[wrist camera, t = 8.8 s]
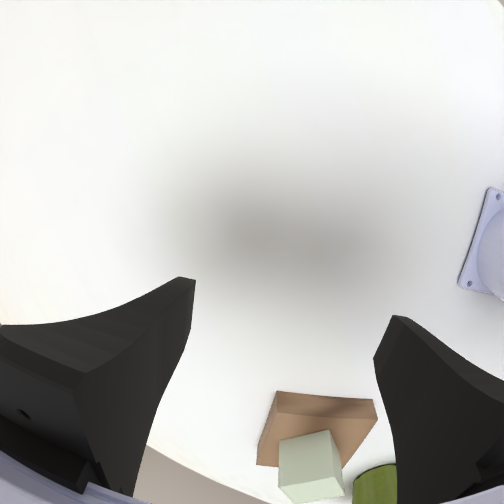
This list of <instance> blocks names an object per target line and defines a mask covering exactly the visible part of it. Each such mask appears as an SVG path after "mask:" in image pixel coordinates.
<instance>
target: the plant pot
mask: <svg viewBox="0 0 504 504" xmlns="http://www.w3.org/2000/svg"><path fill="white" fill-rule="evenodd" d="M352 504H397V471H396V466H394V465H385V466H381V467H378V468H375V469H372V470H369V471H367V472H365V473H364V474H362V475H361V477H360V478H358V479H356V480H355V481H354V484H353V500H352Z"/></svg>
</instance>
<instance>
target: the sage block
mask: <svg viewBox="0 0 504 504" xmlns="http://www.w3.org/2000/svg"><path fill="white" fill-rule="evenodd" d="M278 487H279V488H280V490H281V491H282V492H283V493H284V494H285V495H286V496H287V497H288V498H289V499H290V500H291V501H292V502H293V503H294V504H302V503H308V502H314V501H319V500H324V499H329V498H334V497H338V496H343V495H345V493H344V484H343V476H342V468H341V460H340V453H339V450H338V448H337V446H336V444H335V441H334V439H333V437H332V435H331V432H330V430H329V429H328V430H324V431H320V432H316V433H312V434H308V435H303V436H299V437H294V438H290V439H285V440H280V441H279V478H278Z"/></svg>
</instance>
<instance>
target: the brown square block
mask: <svg viewBox="0 0 504 504" xmlns="http://www.w3.org/2000/svg"><path fill="white" fill-rule="evenodd" d="M377 420H378V417H377V414H376V411H375V407H374V404H373V400H372V399H356V398H341V397H329V396H318V395H308V394H299V393H291V392H283V391H277V392H276V395H275V398H274V401H273V404H272V407H271V410H270V412H269V415H268V418H267V421H266V424H265V427H264V430H263V432H262V435H261V438H260V441H259V443H258V448H257V461H256V465H262V466H271V467H279V441H280V440H285V439H290V438H294V437H299V436H303V435H308V434H312V433H316V432H320V431H324V430H328V429H329V430H330V432H331V435H332V437H333V439H334V441H335V444H336V446H337V448H338V450H339V453H340V460H341V468H342V469H343V467H344V466H345V465H346V463H347V462H348V461H349V460H350V458H351V457H352V456H353V454H354V453H355V452H356V450H357V449H358V447H359V446H360V445H361V443H362V442H363V441H364V439H365V438H366V436H367V435H368V433H369V432H370V430H371V429H372V428H373V426H374V425H375V423H376V422H377Z"/></svg>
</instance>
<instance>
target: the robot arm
mask: <svg viewBox="0 0 504 504" xmlns="http://www.w3.org/2000/svg"><path fill="white" fill-rule="evenodd" d="M497 194H498V197H497V199H496V195H497ZM468 281H470V282H469V284H467V283H468ZM195 283H196V280H193V279H189V278H184V277H177V278H175V279H173V280H171V281H169V282H167V283H165V284H164V285H162V286H160V287H158V288H156V289H154V290H153V291H151V292H149V293H147V294H145V295H143V296H141V297H139V298H136V299H134V300H132V301H130V302H128V303H126V304H123V305H121V306H118V307H116V308H113V309H110V310H107V311H104V312H101V313H98V314H95V315H90V316H86V317H82V318H78V319H73V320H68V321H62V322H56V323H46V324H34V325H2V326H1V327H0V504H151V503H148V502H144V501H141V500H138V499H135V498H132V497H133V492H134V488H135V483H136V480H137V476H138V472H139V468H140V464H141V461H142V457H143V453H144V450H145V446H146V443H147V439H148V436H149V433H150V429H151V426H152V423H153V420H154V417H155V414H156V411H157V408H158V405H159V403H160V400H161V398H162V396H163V393H164V391H165V389H166V387H167V385H168V383H169V381H170V379H171V377H172V375H173V372H174V370H175V368H176V366H177V364H178V362H179V360H180V358H181V356H182V353H183V351H184V348H185V345H186V342H187V339H188V336H189V333H190V329H191V321H192V311H193V302H194V292H195ZM458 284H459V286H460V287H461V288H464V289H469V290H474V291H479V292H484V293H488V294H493V295H496V296H497V297H498V298H499V299H500V300H502V301H503V302H504V192H502V191H499V190H497V189H495V188H489V190H488V191H487V195H486V199H485V203H484V206H483V210H482V213H481V217H480V220H479V223H478V227H477V230H476V233H475V236H474V239H473V242H472V245H471V248H470V251H469V254H468V257H467V260H466V262H465V265H464V268H463V270H462V273H461V275H460V278H459V281H458ZM373 360H374V367H375V374H376V380H377V383H378V387H379V390H380V393H381V397H382V400H383V403H384V406H385V410H386V413H387V416H388V420H389V423H390V427H391V431H392V435H393V442H394V449H395V457H396V471H397V504H504V381H503V380H501V379H499V378H497V377H495V376H493V375H491V374H489V373H487V372H486V371H484V370H482V369H481V368H479V367H477V366H476V365H474V364H472V363H471V362H469V361H468V360H466V359H465V358H463V357H462V356H460V355H459V354H458V353H456V352H455V351H453V350H452V349H451V348H449V347H448V346H447V345H445V344H444V343H443V342H441V341H440V340H439V339H438V338H436V337H435V336H434V335H432V334H431V333H430V332H428V331H427V330H426V329H424V328H423V327H422V326H420V325H419V324H417V323H416V322H414V321H413V320H411V319H409V318H407V317H403V316H397V315H392V318H391V320H390V322H389V325H388V327H387V329H386V331H385V334H384V336H383V338H382V340H381V343H380V345H379V347H378V349H377V351H376V353H375V355H374V357H373Z"/></svg>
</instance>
